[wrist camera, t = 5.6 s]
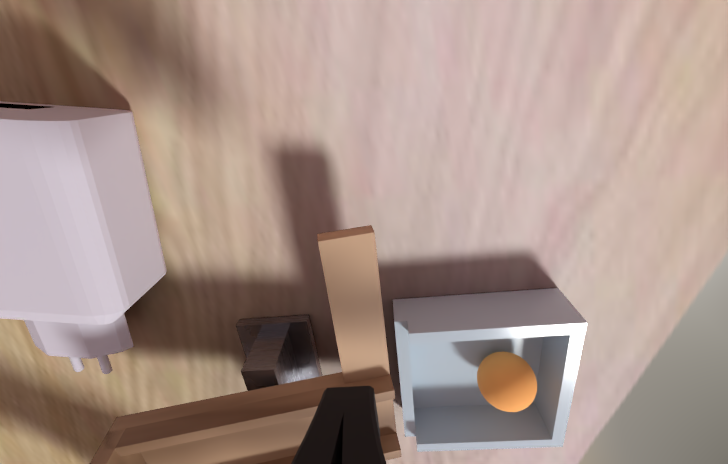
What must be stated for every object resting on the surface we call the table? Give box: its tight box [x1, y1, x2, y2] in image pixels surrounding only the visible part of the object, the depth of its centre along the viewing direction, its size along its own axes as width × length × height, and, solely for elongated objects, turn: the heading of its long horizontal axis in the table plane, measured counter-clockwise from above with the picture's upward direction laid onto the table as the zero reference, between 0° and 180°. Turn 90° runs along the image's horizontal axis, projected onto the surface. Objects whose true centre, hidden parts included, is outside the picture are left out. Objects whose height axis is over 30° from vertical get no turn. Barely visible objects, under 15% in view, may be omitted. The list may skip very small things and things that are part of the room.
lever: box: [90, 225, 401, 464], centre depth 16 cm, size 13×14×3 cm
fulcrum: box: [236, 315, 322, 391], centre depth 21 cm, size 8×4×4 cm, turn 6°
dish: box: [393, 288, 587, 452], centre depth 20 cm, size 9×9×3 cm
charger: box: [0, 101, 167, 374], centre depth 17 cm, size 5×9×15 cm
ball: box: [477, 351, 537, 412], centre depth 20 cm, size 3×3×3 cm
